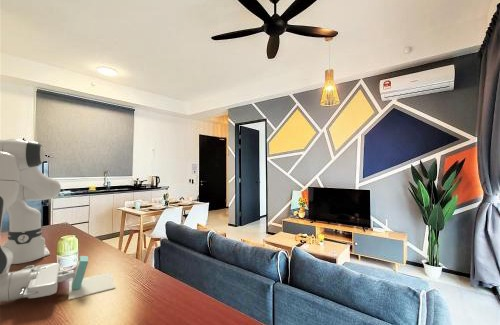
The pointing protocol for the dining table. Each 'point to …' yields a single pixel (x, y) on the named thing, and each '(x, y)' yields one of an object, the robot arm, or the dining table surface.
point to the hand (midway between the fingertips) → (74, 273)
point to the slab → (79, 272)
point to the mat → (92, 285)
